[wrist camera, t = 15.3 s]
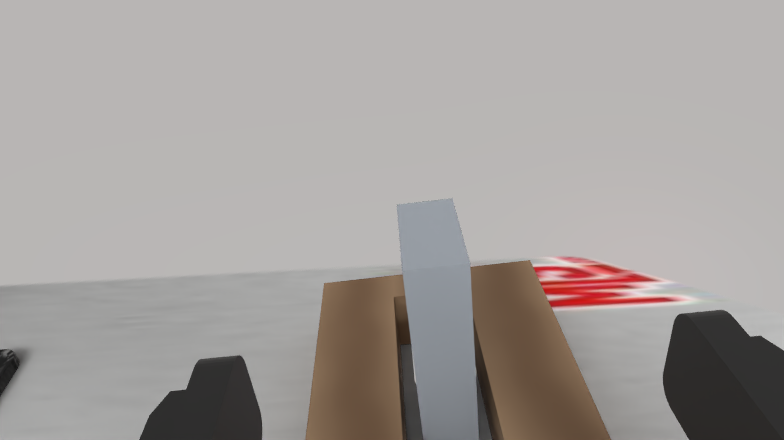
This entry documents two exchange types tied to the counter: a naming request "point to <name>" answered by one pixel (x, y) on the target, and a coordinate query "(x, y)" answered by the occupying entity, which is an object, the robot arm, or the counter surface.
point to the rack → (492, 360)
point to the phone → (7, 367)
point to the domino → (439, 318)
